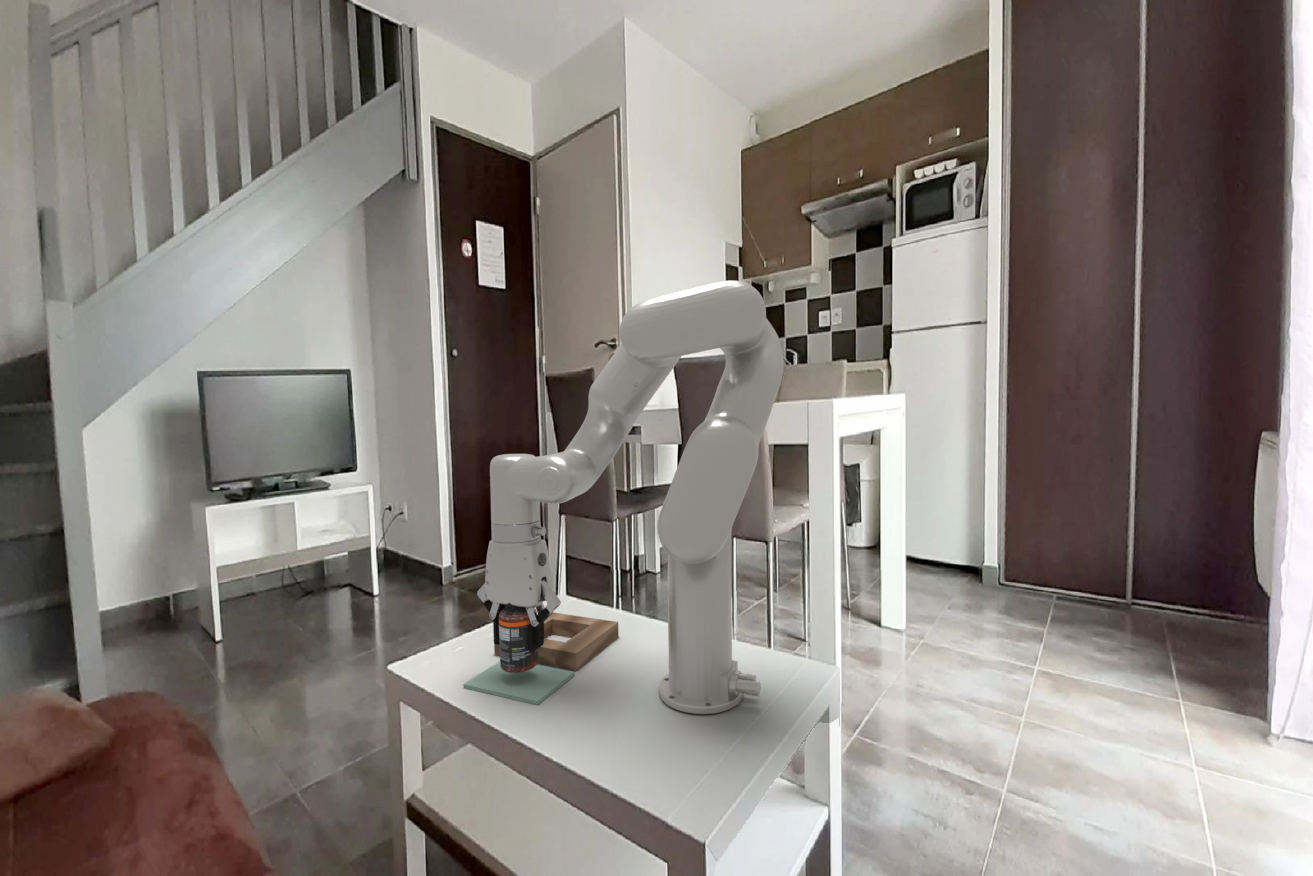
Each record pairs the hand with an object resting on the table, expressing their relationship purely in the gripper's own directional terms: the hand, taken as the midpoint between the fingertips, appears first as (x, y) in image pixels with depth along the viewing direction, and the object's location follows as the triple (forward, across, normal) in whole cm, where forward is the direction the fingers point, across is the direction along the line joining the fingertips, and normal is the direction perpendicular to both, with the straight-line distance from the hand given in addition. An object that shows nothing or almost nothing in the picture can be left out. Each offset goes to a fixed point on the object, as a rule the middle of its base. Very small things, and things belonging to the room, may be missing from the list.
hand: (518, 643), depth 88 cm
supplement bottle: (+4, 0, 0) cm, 4 cm away
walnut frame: (+6, +2, -14) cm, 15 cm away
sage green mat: (+6, 0, 0) cm, 6 cm away
